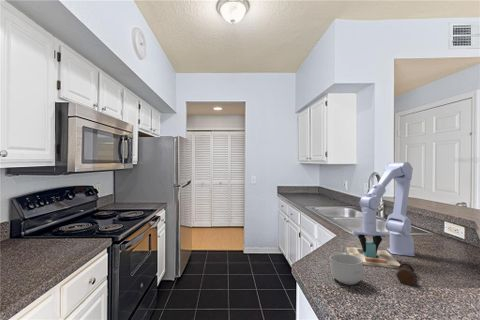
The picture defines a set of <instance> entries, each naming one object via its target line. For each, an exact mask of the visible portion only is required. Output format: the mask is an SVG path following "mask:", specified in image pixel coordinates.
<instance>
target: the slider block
mask: <svg viewBox="0 0 480 320" xmlns="http://www.w3.org/2000/svg"><path fill="white" fill-rule="evenodd" d="M362 254H364V256H365V257H370V258H377V253H376V245H375V244H374V243H373V241H367V240H366V252H362Z"/></svg>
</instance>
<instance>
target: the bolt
mask: <svg viewBox="0 0 480 320" xmlns="http://www.w3.org/2000/svg"><path fill="white" fill-rule="evenodd" d="M399 264H400V266H399V267H398V268H399V269H398V271H397V272H396V274H395V276H396V277H397V279H398V281H399V282H400V284H403V285H407V286H413V285H414V283H415V282H416V281H417V277H416V275H415V274H414V272H415V268H414V267H413V265H412V264H411V263H410V262H407V261H402V262H401V263H399Z"/></svg>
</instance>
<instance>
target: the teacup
mask: <svg viewBox="0 0 480 320" xmlns="http://www.w3.org/2000/svg"><path fill="white" fill-rule="evenodd" d="M329 264H330V266H329V267H330V272H331V275H332V277H333V278H334V279H335V280H336V281H338V282H339V283H341V284H344V285H352V286H353V285H356V284H358V283H359V282H360V281H362V279H363V278H364V277H363V276H364V265H363V260H362V259H361V258H360V257H357V256H354V255H350V254H348V252H343V253H335V254H332V255H330V256H329Z"/></svg>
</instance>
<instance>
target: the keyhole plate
mask: <svg viewBox="0 0 480 320" xmlns="http://www.w3.org/2000/svg"><path fill="white" fill-rule="evenodd" d="M345 250H346V253H347V254H350V255H354V256H357V257H360V258H361V259H362V260H363V266H372V267H378V268H380V267H381V268H389V269H398V270H399V268H398V267H399V266H400V264H401V263H399V261H397V259H396V258H395V257H393V255H392V254H391V253H389V251H388V250H382V249H377V253H376V255H378V256H377V257H376V258H370V257H365V256H364V254H363V249H362V247H351V246H346V247H345ZM360 252H362V253H360Z"/></svg>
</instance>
